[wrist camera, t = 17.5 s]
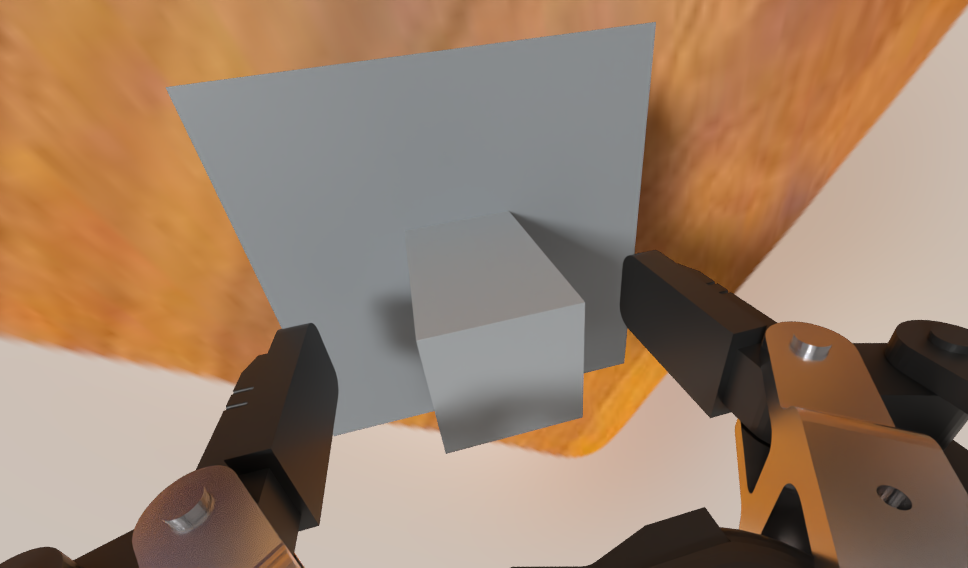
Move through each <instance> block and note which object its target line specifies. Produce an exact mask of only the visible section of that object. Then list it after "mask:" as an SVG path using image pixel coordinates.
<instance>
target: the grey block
mask: <svg viewBox="0 0 968 568" xmlns="http://www.w3.org/2000/svg"><path fill="white" fill-rule="evenodd" d="M655 27H656V22H652V23H645V24H637V25H630V26H622V27H615V28H607V29H600V30H592V31H585V32H577V33H570V34H562V35H555V36H547V37H540V38H532V39H525V40H517V41H510V42H502V43H495V44H487V45H480V46H472V47H465V48H457V49H450V50H442V51H435V52H427V53H420V54H412V55H404V56H397V57H389V58H382V59H374V60H367V61H359V62H352V63H344V64H337V65H329V66H322V67H314V68H307V69H299V70H292V71H284V72H277V73H269V74H262V75H254V76H247V77H239V78H232V79H224V80H217V81H209V82H202V83H194V84H187V85H179V86H172V87H166V89H167V91H168V93H169V95H170V98H171V100H172V102H173V104H174V106H175V108H176V110H177V112H178V114H179V116H180V118H181V120H182V122H183V124H184V127H185V129H186V131H187V133H188V135H189V137H190V139H191V141H192V143H193V145H194V147H195V149H196V151H197V153H198V156H199V158H200V160H201V162H202V164H203V166H204V168H205V170H206V172H207V174H208V176H209V178H210V180H211V182H212V185H213V187H214V189H215V191H216V193H217V195H218V197H219V199H220V201H221V203H222V205H223V207H224V209H225V211H226V214H227V216H228V218H229V220H230V222H231V224H232V226H233V228H234V230H235V232H236V234H237V236H238V238H239V240H240V243H241V245H242V247H243V249H244V251H245V253H246V255H247V257H248V259H249V261H250V263H251V265H252V267H253V269H254V272H255V274H256V276H257V278H258V280H259V282H260V284H261V286H262V288H263V290H264V292H265V294H266V296H267V298H268V301H269V303H270V305H271V307H272V309H273V311H274V313H275V315H276V317H277V319H278V321H279V323H280V325H281V327H282V329H284V328H289V327H293V326H298V325H303V324H307V323H313V324H315V326H316V327H317V329H318V331H319V333H320V336H321V338H322V340H323V343H324V345H325V348H326V350H327V352H328V355H329V357H330V359H331V362H332V364H333V366H334V369H335V372H336V375H337V380H338V387H339V394H338V402H337V408H336V415H335V422H334V429H333V435H334V436H337V435H341V434H345V433H348V432H352V431H356V430H361V429H364V428H369V427H372V426H376V425H380V424H384V423H388V422H392V421H396V420H400V419H404V418H408V417H412V416H416V415H420V414H424V413H428V412H432V411H435V414H436V418H437V422H438V426H439V429H440V433H441V436H442V440H443V444H444V448H445V452H446V454H447V453H450V452H455V451H458V450H462V449H466V448H470V447H473V446H476V445H481V444H484V443H488V442H492V441H496V440H499V439H503V438H507V437H511V436H514V435H518V434H522V433H526V432H529V431H533V430H537V429H541V428H544V427H548V426H552V425H556V424H559V423H563V422H567V421H571V420H574V419H578V418H582V417H583V374H584V373H587V372H591V371H595V370H599V369H603V368H607V367H611V366H615V365H619V364H622V363H624V358H625V348H626V337H627V326H626V325H625V323H624V322H623V319H622V317H621V313H620V292H621V279H622V267H623V261H624V259H625V257H627V256H629V255H633V254H634V252H635V241H636V230H637V220H638V209H639V198H640V187H641V177H642V166H643V155H644V145H645V134H646V123H647V113H648V102H649V91H650V81H651V70H652V59H653V49H654V38H655Z"/></svg>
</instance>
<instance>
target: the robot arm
mask: <svg viewBox="0 0 968 568" xmlns="http://www.w3.org/2000/svg"><path fill="white" fill-rule="evenodd" d="M620 313H621V317H622V319H623V322H624V323H625V325H626V326H627V328H628V329H629V330H630V331H631V332H632V333H633V334H634V335H635V336H636V338H637V339H638V340H639V341H640V342H641V343H642V344H643V345H644V346H645V347H646V348H647V350H648V351H649V352H650V353H651V354H652V355H653V356H654V357H655V358H656V359H657V360H658V362H659V363H660V364H661V365H662V366H663V367H664V368H665V369H666V370H667V371H668V372H669V374H670V375H671V376H672V377H673V378H674V379H675V380H676V381H677V382H678V383H679V384H680V385H681V387H682V388H683V389H684V390H685V391H686V392H687V393H688V394H689V395H690V396H691V398H692V399H693V400H694V401H695V402H696V403H697V404H698V405H699V406H700V407H701V409H703V411H704V412H705V413H706V414H707V415H708V416H709V417H710V418H712V417H715V416H719V415H723V414H727V413H730V412H732V413H733V414H734V415H735V416H736V417H737V418H738V419H737V422H736V425H735V437H736V449H737V460H738V470H739V481H740V494H741V518H740V524H739V529H730V528H723V527H722V528H721V527H719V526H718V525H717V523H716V522H715V520H714V519H713V518H712V516H711V515H710V514H709V512H708V511H707V509H706V508H705V507H704V508H701V509H697V510H694V511H691V512H688V513H684V514H681V515H678V516H675V517H672V518H669V519H665V520H662V521H659V522H655V523H652V524H649V525H646V526H644V527H643V528H641V529H640V530H639V531H637V532H636V533H635V534H633V535H632V536H630V537H629V538H628V539H626V540H625V541H624V542H622V543H621V544H619V545H618V546H617V547H615V548H614V549H613V550H611V551H610V552H608V553H607V554H606V555H604V556H603V557H602V558H600V559H599V560H597V561H596V562H595V563H593V564H591V565H588V566H583V567H511V568H968V450H967V449H965V448H964V447H963V446H961V445H960V444H958V443H957V442H955V441H954V440H953V439H954V437H955V436H956V435H957V433H958V432H959V431H960V430H961V428H962V427H963V426H964V424H965V423H966V422H967V420H968V329H966V328H963V327H959V326H956V325H952V324H948V323H943V322H937V321H930V320H911V321H906V322H903V323H901V324H899V325H898V326H897V327H896V329H895V331H894V333H893V335H892V337H891V339H890V340H889V342H888V343H851V342H850V341H849V340H848V339H846V338H845V337H843V336H841V335H840V334H838V333H836V332H834V331H832V330H829V329H827V328H824V327H821V326H817V325H813V324H809V323H803V322H780V323H777V322H775V321H774V320H772V319H771V318H769V317H768V316H766V315H765V314H763V313H762V312H760V311H759V310H757V309H755V308H754V307H752V306H751V305H749V304H748V303H746V302H745V301H743V300H742V299H740V298H739V297H737V296H736V295H734V294H733V293H731V292H730V293H728V290H727V289H725V288H724V287H722V286H721V285H719V284H718V283H717V284H715V283H714V281H713V280H712V279H710V278H709V277H707V276H706V275H704V274H703V273H701V272H700V271H697V270H695V269H692V268H689V267H686V266H683V265H680V264H677V263H675V262H674V261H672V260H671V259H669V258H668V257H666V256H665V255H664V254H662V253H661V252H659V251H657V250H652V251H647V252H642V253H638V254H633V255H629V256H627V257H625V259H624V261H623V267H622V279H621V292H620ZM233 392H234V394H233V395H231V397H230V399H229V401H228V403H227V405H226V410H225V411H223V414H222V416H221V418H220V420H219V422H218V424H217V426H216V428H215V430H214V433H213V435H212V437H211V439H210V441H209V443H208V445H207V447H206V450H205V452H204V454H203V456H202V458H201V460H200V462H199V464H198V467H197V469H196V470H195V471H193V472H191V473H189V474H187V475H185V476H183V477H182V478H180V479H178V480H177V481H175V482H174V483H172V484H171V485H170V486H168V487H167V488H166V489H165V490H163V491H162V492H161V493H160V494H159V495H158V496H157V497H156V498H155V499H154V500H153V501H152V502H151V503H150V504H149V506H148V507H147V508H146V510H145V511H144V512H143V514H142V515H141V517H140V518H139V520H138V523H137V524H136V526H135V529H134V530H132V531H130V532H128V533H126V534H124V535H122V536H120V537H118V538H116V539H114V540H112V541H110V542H108V543H107V544H104V545H102V546H100V547H98V548H97V549H95V550H93V551H91V552H89V553H87V554H85V555H83V556H81V557H79V558H77V559H75V560H71V559H70V558H69V557H67V556H66V555H65V554H63V553H62V552H61V551H59V550H57V549H56V548H52V547H40V548H36V549H32V550H29V551H26V552H23V553H21V554H19V555H16V556H14V557H12V558H10V559H8V560H6V561H5V562H3V563H1V564H0V568H305V567H304V566H303V564H302V563H301V561H300V560H299V558H298V557H297V555H296V554H295V553H294V550H295V546H296V540H297V535H298V531H302V530H305V529H309V528H312V527H316V526H319V524H320V517H321V510H322V503H323V497H324V489H325V483H326V476H327V470H328V463H329V455H330V449H331V442H332V436H333V429H334V422H335V415H336V408H337V402H338V394H339V387H338V380H337V375H336V372H335V369H334V366H333V364H332V362H331V359H330V357H329V355H328V352H327V350H326V348H325V345H324V343H323V340H322V338H321V336H320V333H319V331H318V329H317V327H316V326H315V324H313V323H307V324H303V325H298V326H293V327H289V328H284V329H280V330H278V331H277V332H276V335H275V337H274V339H273V342H272V344H271V347H270V349H269V351H268V354H263V355H259V356H257V357H256V359H255V360H254V361H253V362H252V363H251V364H250V365H249V366H248V367H247V368H246V369H245V370H244V371H243V372H242V373H241V375H240V378H239V380H238V382H237V384H236V386H235V388H234V390H233Z"/></svg>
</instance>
